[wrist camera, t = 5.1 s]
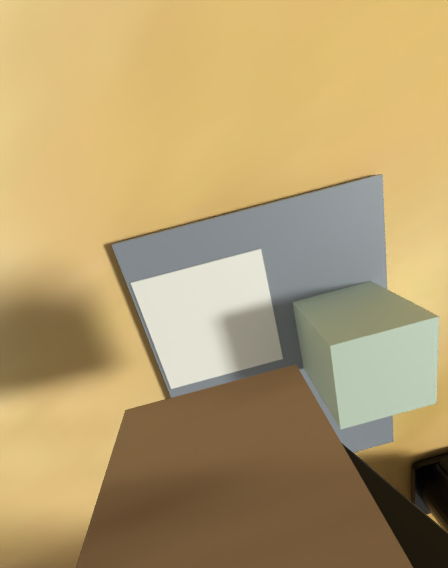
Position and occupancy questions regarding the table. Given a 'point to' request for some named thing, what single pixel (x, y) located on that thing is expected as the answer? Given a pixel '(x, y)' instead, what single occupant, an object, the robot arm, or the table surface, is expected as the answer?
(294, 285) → the baseplate
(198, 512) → the walnut block
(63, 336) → the table surface
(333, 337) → the sage block
